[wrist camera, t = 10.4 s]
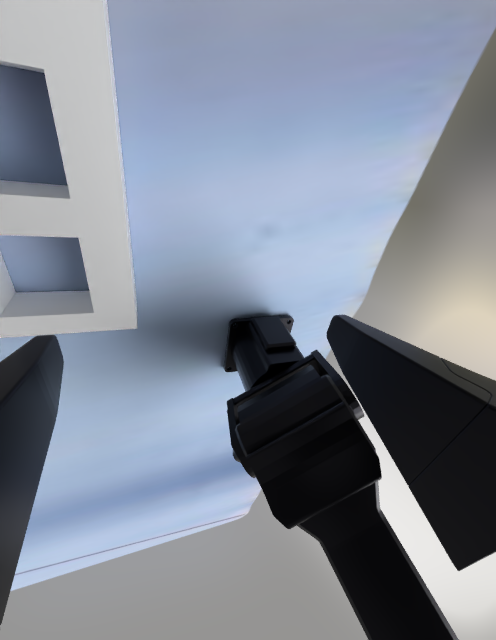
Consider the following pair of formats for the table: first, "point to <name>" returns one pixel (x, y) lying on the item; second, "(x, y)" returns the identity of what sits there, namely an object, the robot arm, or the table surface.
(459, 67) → the table surface
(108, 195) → the white slotted frame
